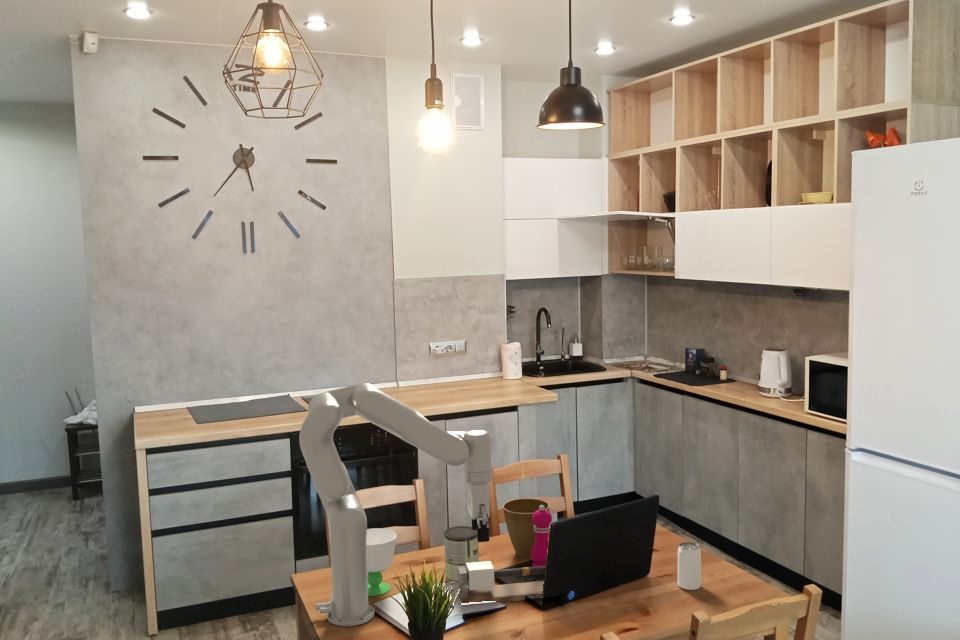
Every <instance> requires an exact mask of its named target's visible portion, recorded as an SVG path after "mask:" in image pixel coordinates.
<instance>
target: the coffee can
mask: <svg viewBox="0 0 960 640" xmlns="http://www.w3.org/2000/svg"><path fill="white" fill-rule="evenodd" d="M443 536H444V560H445V561H444V563H445V565H444V566H445V569H444V570H445V581H447V582H448V583H451V582H453V581H454V582H455V583H456V584H455V585H458V569H457V567H462V566H465V569H466V563H472V562H480V560H479V556H480V555H479V552H480V551H479V542H478V538H477V530H473V529H472V526H467V525H459V526H458V525H457V526H453V527H449V528H447V529H445V530H444V532H443Z"/></svg>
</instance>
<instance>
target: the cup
mask: <svg viewBox="0 0 960 640" xmlns="http://www.w3.org/2000/svg"><path fill="white" fill-rule="evenodd" d="M397 537H398V534H397V533H396V532H395V531H394V530H391V529H387V528H382V527H381V528H380V527H379V528H377V527H376V528H367V538H366V549H367V575H368V597H377V596H383V595H385V594H387V593H388V592H390V591H391V585H390V584H388V583H386V582H383V578H384V577H383V573H382V572H384V571H387V569H389V568H390V567H391V566H392V564H393V562H394V561H393V560H394V555H395V549H396V543H397V539H398V538H397Z"/></svg>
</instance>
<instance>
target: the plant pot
mask: <svg viewBox="0 0 960 640" xmlns="http://www.w3.org/2000/svg"><path fill="white" fill-rule="evenodd" d="M540 505H544V507H545V509H544V510H547V511H549V512H550V503H548V502H547V501H546V500H544V499H543V500H542V499H538V498H530V497H529V498H528V497H527V498H517V499H516V498H515V499H511V500H509V501H506V502H505V503H504V504H503V505H502V508H503V509H502V510H503V514H504V520H505V525H506V528H507V531H508V535H509V538H510V542H511V545H512V547H513V550H514V552H515V554H516V556H517V557H520V558H522V559H523V558H524V559H529V558H531V550H532V547H533V545H534V543H535V539H536V532H535V531H534V525H535V524H534V523H533V521H532V516H533V514H534V512H535V511H537V510H539V506H540ZM531 559H532V558H531Z"/></svg>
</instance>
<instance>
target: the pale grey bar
mask: <svg viewBox="0 0 960 640" xmlns="http://www.w3.org/2000/svg"><path fill="white" fill-rule="evenodd" d="M457 569H458V584H457V589H459V588H460V591H459V594H457V596H459V597H458V600H459V599H460V600H459V602H460V601H461V603H469V602H482V601H496V602H498V603H507V602H508V603H509V602H519V601H526V600H525V596H527V595H535V594H542V591H543V584H544V581H545V580H539V581H537V580H536V581H527V582H517V583H504V584H494V588H489V589H478V590H469V588H468V585H467V580H468V573H467V572H466V569H465V566H462V567H457ZM545 571H546V566H539V567H533V566H525V567H518V568H505V569H498V570H497V569H494V579H496V578H497V579H498V578H509V577H517V576H518V577H519V576H522V577H523V576H530V575H532V576H533V575H541V574H546V573H545ZM461 603H460V604H461Z"/></svg>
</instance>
